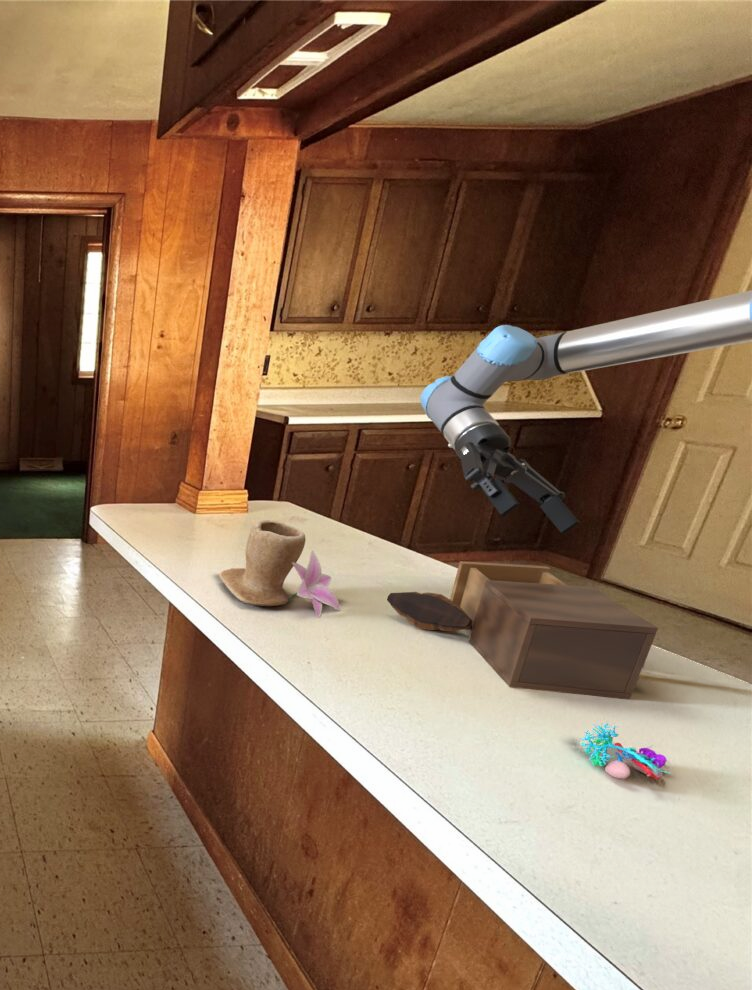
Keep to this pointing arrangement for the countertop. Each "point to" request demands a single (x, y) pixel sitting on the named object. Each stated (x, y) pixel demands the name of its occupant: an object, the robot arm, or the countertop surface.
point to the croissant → (430, 611)
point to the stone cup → (266, 564)
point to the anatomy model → (641, 762)
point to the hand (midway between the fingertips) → (541, 519)
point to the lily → (315, 585)
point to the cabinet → (561, 638)
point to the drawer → (476, 574)
